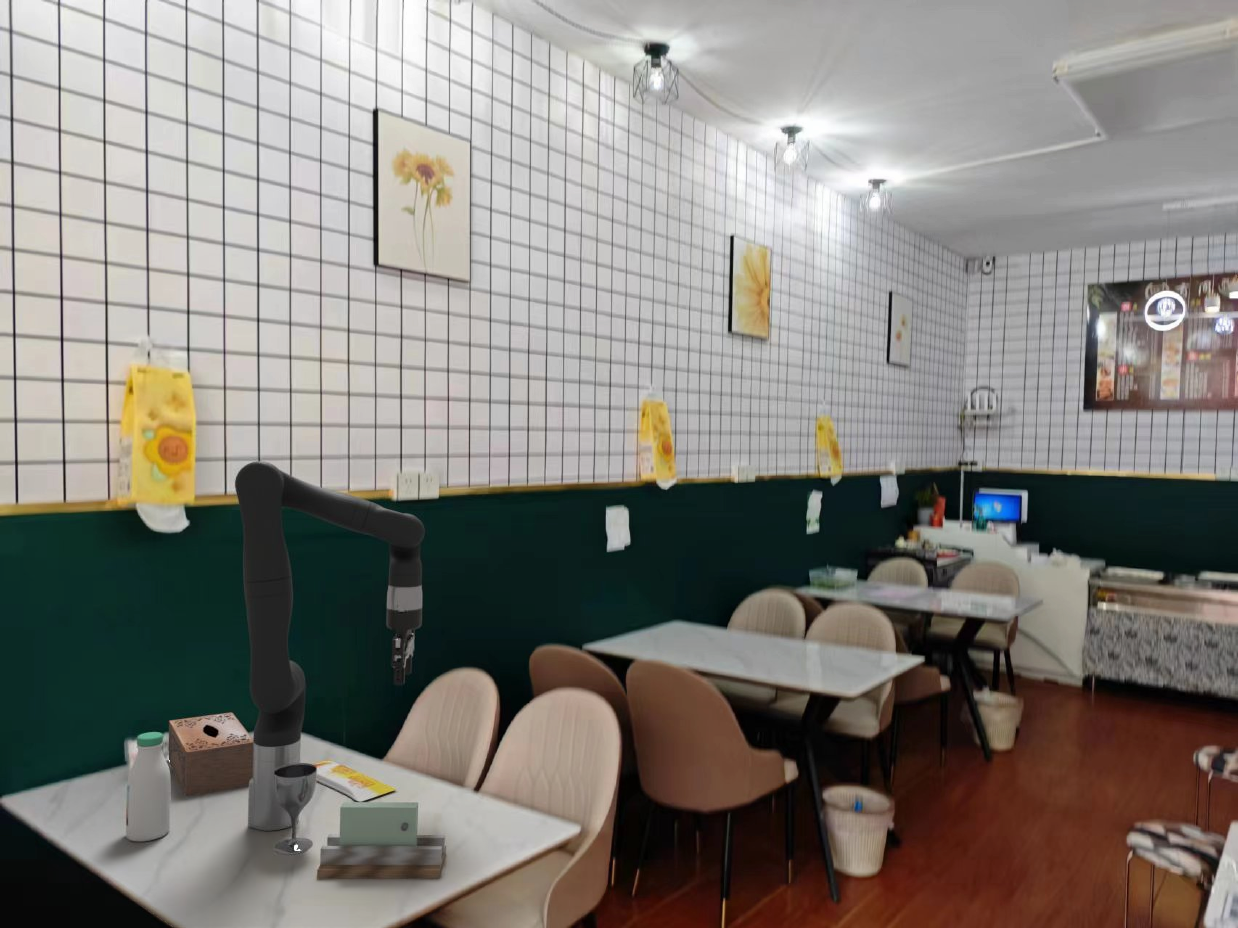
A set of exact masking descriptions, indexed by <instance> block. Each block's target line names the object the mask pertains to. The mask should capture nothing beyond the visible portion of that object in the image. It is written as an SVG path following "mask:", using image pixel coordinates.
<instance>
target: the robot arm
mask: <svg viewBox="0 0 1238 928" xmlns="http://www.w3.org/2000/svg"><path fill="white" fill-rule="evenodd" d="M234 488H235V493H236V496H237V499H238V501H237V502H238V505H239V511H240V515H241V522H242V528H243V547H242V550H243V551H242V552H243V553H242V560H243V561H242V574H243V578H242V579H243V589H244V590H243V592H244V600H245V608H246V617H247V626H248V634H249V643H250V645H249V646H250V667H249V669H250V670H249V672H250V675H249V693H250V697H251V698H250V699H251V701H252V702H253V704H254V705H255V707H256V708H258V709H259V712H258V716H257V720H256V724H255V726H254V729H253V737H252V739H253V778H252V779H251V780H250V781H249V785H248V806H247V827H248V828H254V829H255V830H258V831H269V832H270V831H279V830H283V829H287V828H290V827H292V824H291V818H290V816H289V814H288V812H287V811H286V810H285V809H284V808H283V807H282V806H281V805H280V804H279V803H278V801H277V799H276V795H275V790H274V771H275V770H276V769H277V768H279V767H281V766H284V765H288V764H294V763H301V748H302V747H301V746H302V745H301V742H302V738H301V737H302V728H303V724H304V720H305V705H306V686H307V685H306V677H305V673H304V671H303V669H302V668H301V666H300V665H299V664H298V663H296V662H295V661H293V660H291V659H290V654H289V646H288V645H289V643H288V642H289V641H288V640H289V631H290V627H291V626H290V625H291V618H292V612H293V604H294V589H293V577H292V568H291V563H290V557H289V553H288V552H289V551H288V548H287V544H286V540H285V536H284V531H283V521H282V519H283V517H282V514H283V513H282V511H283V510H282V508H286V509H291V510H294V511H298V512H301V513H305V514H307V515H310V516H312V517H315V518H318V519H320V520H322V521H325V522H327V523H330V524H332V525H335V526H337V527H341V528H343V529H346V530H349V531H353V532H356V533H360V534H363V535H367V536H371V537H375V538H376V539H379V540H382V541H384V542H386V543H388V544H389V545H388V547H389V566H388V567H389V569H388V587H387V593H386V595H387V596H386V622H385V623H386V627H387V628H388V629H390V630H394V631H395V635H394V636H393V638H392V640H391V663H390V665H391V666H390V667H391V668H393V685H394V686H403V685H404V684H405V682H406V681H405V679H406V678H405V677H406V675H407V676H409V675H411V673H412V660H413V659H412V658H413V656H414V651H415V631H416V630H417V629H419V628H421V626H422V623H423V589H422V588H423V587H422V584H423V583H422V581H423V580H422V579H423V565H422V564H423V563H422V561H421V543H422V541H423V539H424V537H425V533H426V531H425V526H424V524H423V522H422V521H421V520H420V519H419V518H418V517H417V516H415V515H414V514H411V513H405V512H404V513H402V512H399V511H396V510H393V509H388V508H386V507H383V506H382V505H380V504H377V503H375V502H373V501H369V500H367V499H364V498H362V497H361V498H360V497H357V496H355V495H351V494H348V493H345V492H344V493H343V492H341V491H336V490H332V489H328V488H324V487H322V486H318V485H316V484H312V483H309V482H306V481H304V480H301V479H300V478H297V477H295V476H292V475H291V474H288V473H287V472H285V471H283V470H281V469H279V468H278V467H277V466H276V465H274V464H272V463H270V462H267V461H264V460H263V461H262V460H260V461H252V462H250V463H247V464H245V465H244V466H243V467H241V468H240V470H239V471H238V472H237V474H236V476H235V479H234ZM398 659H400V660H398ZM299 816H300V815H299ZM299 816H298V820H297V822H298V821H299V818H300V817H299Z"/></svg>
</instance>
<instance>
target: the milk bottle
mask: <svg viewBox="0 0 1238 928" xmlns="http://www.w3.org/2000/svg"><path fill="white" fill-rule="evenodd" d="M163 741H164V734H163V733H162V732H160V731H159V732H157V731H152V732H151V731H149V732H144V733H141V734H139V735H138V736H137V738H136V748H137V754H136V757H135V758H134V762H133V763H132V766H131V768H130V770H129V772H128V776H127V777H128V778H127V786H126V787H127V788H126V807H125V808H126V811H125V812H126V813H125V814H126V815H125V816H126V817H125V820H126V821H125V823H126V824H125V837H126V838H127V839H128V840H129V841H131V842H148V841H154V840H157V839H159V838H160V839H161V838H162V837H164V836H165V835H167V834H168V833H169V830H170V827H171V826H170V824H171V822H170V821H171V819H170V818H171V771H170V767H169V763H168V762H167V760H166V758H165V756H164V753H163V750H162V746H163V744H164V743H163Z"/></svg>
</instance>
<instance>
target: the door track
mask: <svg viewBox="0 0 1238 928" xmlns="http://www.w3.org/2000/svg"><path fill="white" fill-rule="evenodd" d="M339 840H340V834H328V835H327V837H326V841H327V842H326V845H322V846H321V848H320V850H319V851H320V854H319V855H320V860H319V866H318V868H317V869H316V879H440V876H441V871H442V869H441V868H443V864H444V861H445V857H446V855H447V845H446V834H417V846H339Z"/></svg>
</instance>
